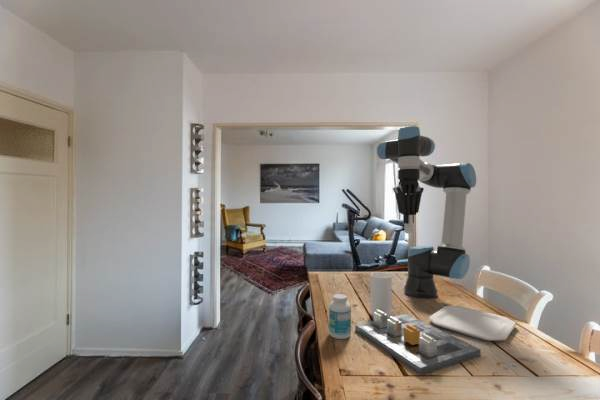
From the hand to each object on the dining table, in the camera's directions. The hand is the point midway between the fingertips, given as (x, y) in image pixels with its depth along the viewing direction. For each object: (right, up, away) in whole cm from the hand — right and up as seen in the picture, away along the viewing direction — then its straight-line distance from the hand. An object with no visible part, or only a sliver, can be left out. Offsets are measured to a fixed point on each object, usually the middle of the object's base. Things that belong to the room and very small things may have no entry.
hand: (408, 232), depth 112 cm
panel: (-4, -35, -13) cm, 37 cm away
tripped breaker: (-6, -32, -18) cm, 37 cm away
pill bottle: (-27, -35, -8) cm, 45 cm away
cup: (-8, -35, +10) cm, 37 cm away
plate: (+23, -35, 0) cm, 42 cm away
